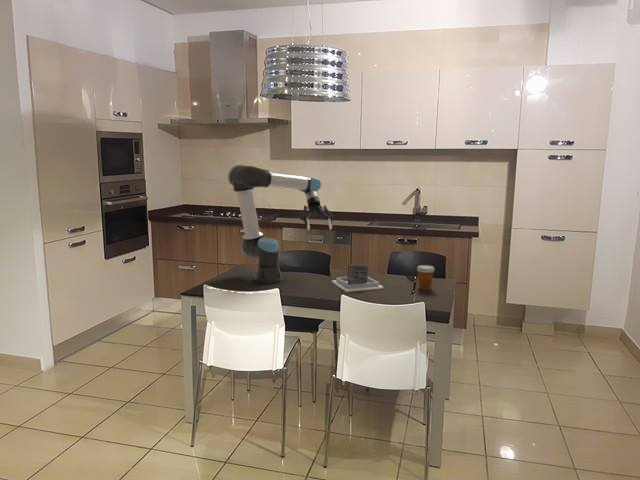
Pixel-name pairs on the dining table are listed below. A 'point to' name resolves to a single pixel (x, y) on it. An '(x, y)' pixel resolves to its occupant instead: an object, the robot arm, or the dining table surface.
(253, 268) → the dining table surface
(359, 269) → the small box
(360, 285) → the tray
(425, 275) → the pill bottle
